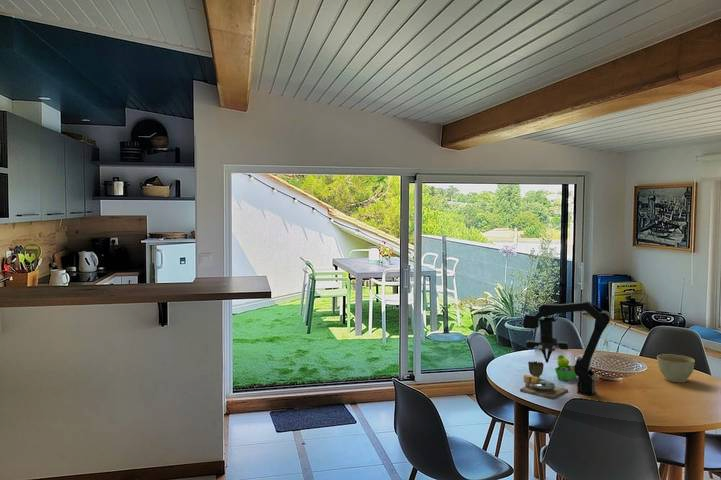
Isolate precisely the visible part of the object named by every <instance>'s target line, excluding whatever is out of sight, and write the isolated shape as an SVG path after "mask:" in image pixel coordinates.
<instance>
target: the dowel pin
mask: <svg viewBox="0 0 721 480" xmlns="http://www.w3.org/2000/svg"><path fill="white" fill-rule="evenodd" d="M529 385H530V384H529V376H526V377H525V385H524V387H529Z"/></svg>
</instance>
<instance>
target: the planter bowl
mask: <svg viewBox="0 0 721 480" xmlns="http://www.w3.org/2000/svg"><path fill="white" fill-rule="evenodd" d="M656 359H657V366H658V368H659V371H660V373H661V374H662V376H663V377H664V378H663V379H664V380H666V381H669V382H671V383H686V382H688V381H687V380H688V379H689V377H690V376H691V375H692V374H693V371H694V368H695V363H696V360H695V359H694V358H693V357H691V356H690V357H689V356H685V355H679V354H672V353H671V354H669V353H663V354H659V355H657V356H656Z"/></svg>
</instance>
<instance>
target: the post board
mask: <svg viewBox="0 0 721 480" xmlns="http://www.w3.org/2000/svg"><path fill="white" fill-rule="evenodd" d="M540 381H541V384H546V381H547V380H540ZM519 391H520V392H523V393H526V394H530V395H534V396H539V397H542V398H547V399H551V400H554V399H556V398H558V397H561V396H562V395H563V394H565V393H568V391H569V389H568V388H564V387H559V386H556V385H555V388H554V389H551V390H542V389H537V388H534V387H533V386H532V384H529V387H525V386H523V387H521V388H519Z"/></svg>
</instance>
